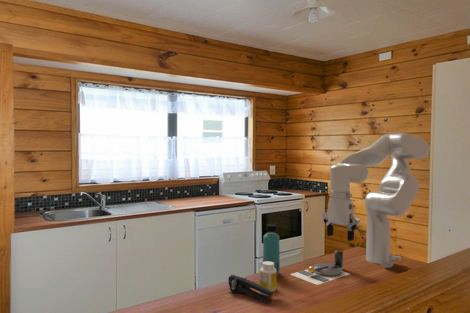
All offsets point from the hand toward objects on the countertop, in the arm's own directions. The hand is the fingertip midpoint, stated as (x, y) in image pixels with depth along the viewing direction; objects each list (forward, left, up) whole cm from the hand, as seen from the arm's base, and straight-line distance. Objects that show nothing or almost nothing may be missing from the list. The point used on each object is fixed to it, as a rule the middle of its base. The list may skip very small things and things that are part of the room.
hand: (340, 237), depth 140 cm
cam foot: (+6, +5, -12) cm, 15 cm away
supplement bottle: (+32, +22, -14) cm, 41 cm away
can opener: (+38, +24, -14) cm, 47 cm away
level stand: (+10, +7, -14) cm, 18 cm away
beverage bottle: (+29, +6, -14) cm, 32 cm away
